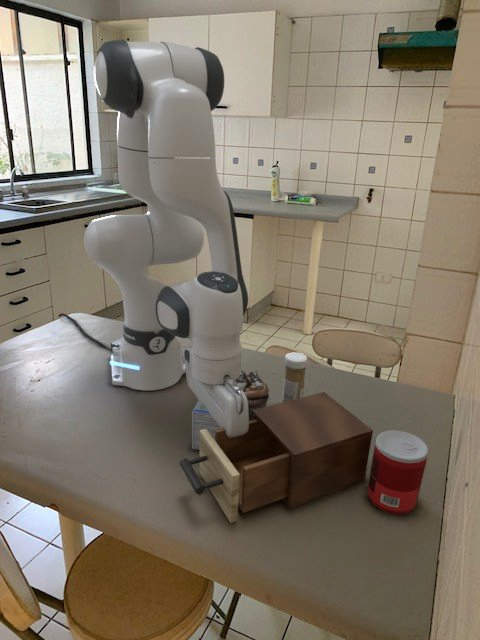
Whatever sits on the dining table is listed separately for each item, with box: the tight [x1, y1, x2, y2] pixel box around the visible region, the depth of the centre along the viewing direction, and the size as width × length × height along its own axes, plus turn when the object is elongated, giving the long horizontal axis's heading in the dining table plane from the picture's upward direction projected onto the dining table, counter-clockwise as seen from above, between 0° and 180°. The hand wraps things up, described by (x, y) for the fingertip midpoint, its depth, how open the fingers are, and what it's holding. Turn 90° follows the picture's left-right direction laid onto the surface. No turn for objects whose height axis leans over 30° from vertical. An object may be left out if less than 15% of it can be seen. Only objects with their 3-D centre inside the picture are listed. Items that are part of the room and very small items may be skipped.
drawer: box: [179, 419, 292, 524], centre depth 76 cm, size 19×12×9 cm, turn 117°
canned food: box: [367, 429, 429, 515], centre depth 75 cm, size 8×8×11 cm
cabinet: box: [252, 391, 374, 510], centre depth 81 cm, size 16×14×11 cm
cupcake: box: [234, 370, 270, 421], centre depth 97 cm, size 10×10×10 cm
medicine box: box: [191, 399, 221, 451], centre depth 87 cm, size 8×4×9 cm, turn 78°
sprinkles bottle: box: [282, 351, 308, 402], centre depth 98 cm, size 5×5×14 cm
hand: (214, 429), depth 87 cm, fingers closed on medicine box, 7 cm apart
